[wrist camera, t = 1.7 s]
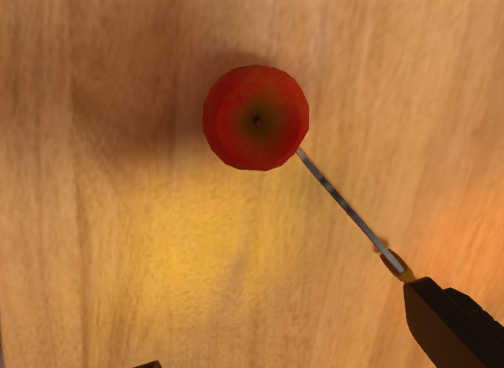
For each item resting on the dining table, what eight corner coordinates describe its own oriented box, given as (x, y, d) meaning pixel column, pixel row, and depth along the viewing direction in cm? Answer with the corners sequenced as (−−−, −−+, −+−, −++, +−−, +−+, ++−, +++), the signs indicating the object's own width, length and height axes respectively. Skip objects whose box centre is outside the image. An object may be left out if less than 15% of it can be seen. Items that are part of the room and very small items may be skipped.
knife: (272, 137, 28) (289, 156, 23) (286, 125, 28) (305, 141, 23) (427, 314, 37) (462, 352, 32) (438, 305, 37) (475, 342, 32)
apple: (266, 46, 26) (295, 45, 19) (296, 126, 28) (332, 152, 21) (184, 83, 26) (182, 96, 19) (221, 160, 28) (231, 197, 21)
